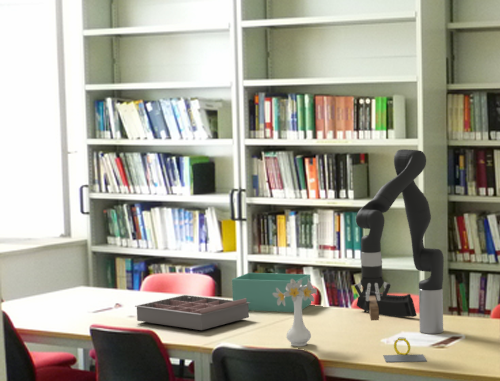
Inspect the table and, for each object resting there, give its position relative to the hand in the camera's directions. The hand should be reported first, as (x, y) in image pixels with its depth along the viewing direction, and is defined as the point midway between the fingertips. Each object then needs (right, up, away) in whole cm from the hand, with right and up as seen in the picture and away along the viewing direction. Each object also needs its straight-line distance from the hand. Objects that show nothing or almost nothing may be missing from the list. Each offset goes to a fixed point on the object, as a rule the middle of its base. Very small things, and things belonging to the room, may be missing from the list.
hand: (373, 310), depth 319 cm
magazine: (+15, -11, +64) cm, 67 cm away
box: (-35, -11, +93) cm, 100 cm away
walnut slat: (0, -1, 0) cm, 1 cm away
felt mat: (+9, -15, -15) cm, 23 cm away
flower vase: (-27, -15, +11) cm, 33 cm away
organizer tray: (-70, -14, +62) cm, 95 cm away
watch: (+9, -15, -8) cm, 19 cm away
